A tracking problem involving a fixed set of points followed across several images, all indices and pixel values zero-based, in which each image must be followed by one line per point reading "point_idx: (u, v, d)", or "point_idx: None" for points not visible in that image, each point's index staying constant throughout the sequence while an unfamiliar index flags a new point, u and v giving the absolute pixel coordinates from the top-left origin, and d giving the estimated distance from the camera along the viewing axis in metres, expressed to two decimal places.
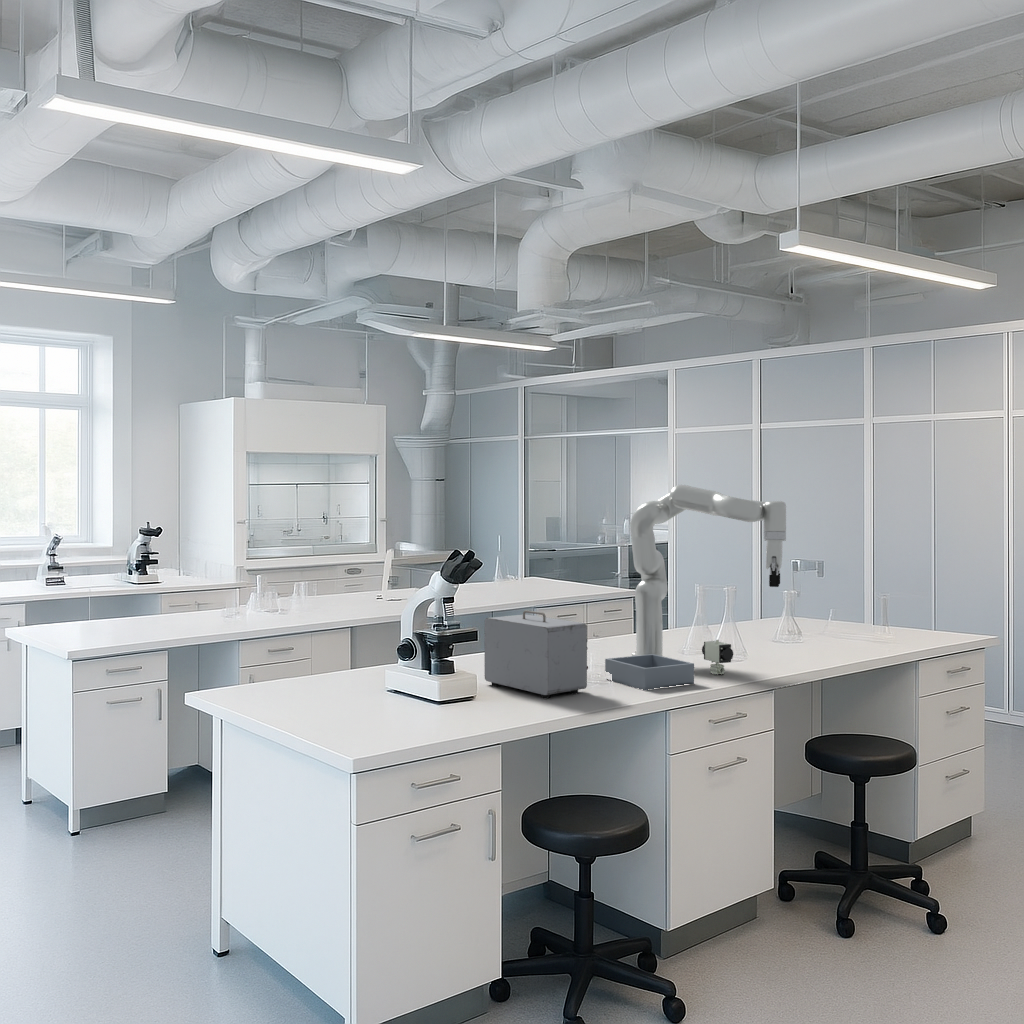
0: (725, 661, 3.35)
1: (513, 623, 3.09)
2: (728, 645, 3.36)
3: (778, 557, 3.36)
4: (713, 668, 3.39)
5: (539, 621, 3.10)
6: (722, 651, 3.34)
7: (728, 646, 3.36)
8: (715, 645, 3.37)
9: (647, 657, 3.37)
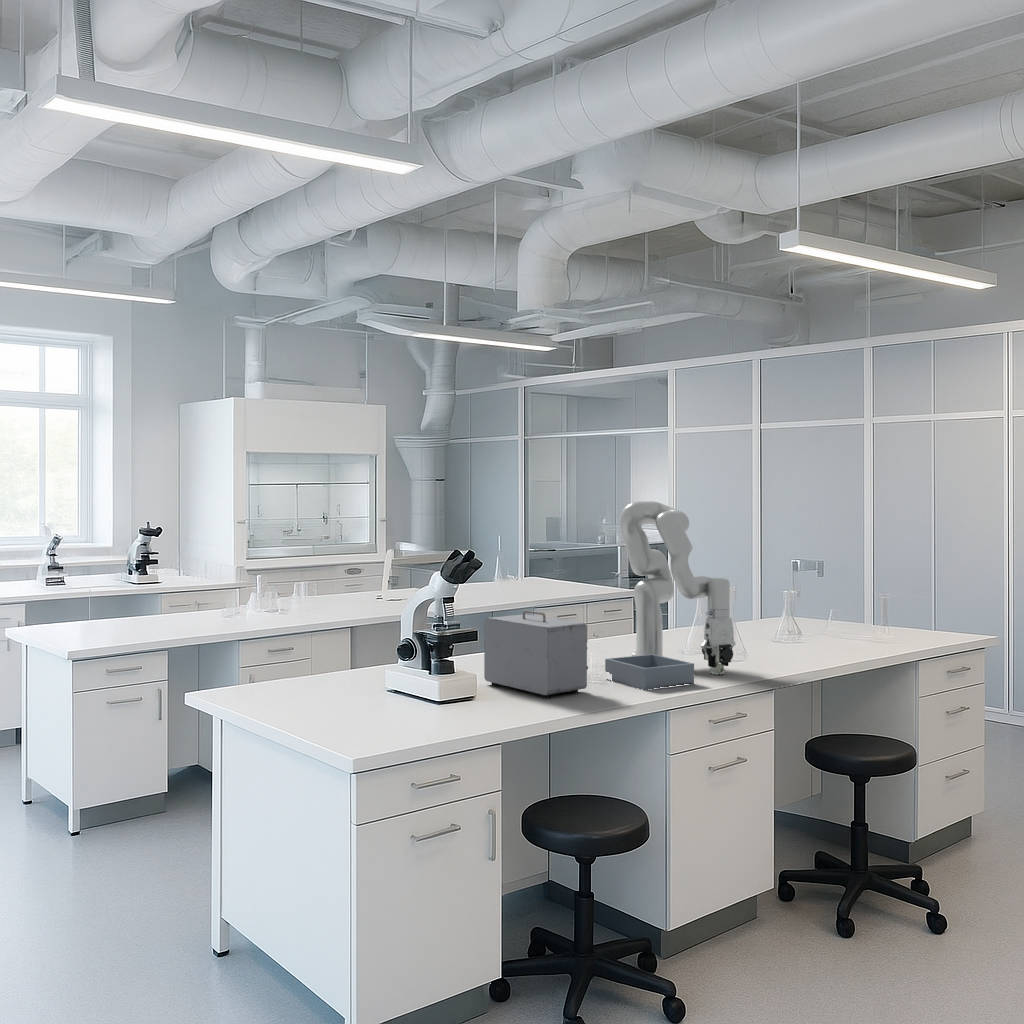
0: (725, 661, 3.35)
1: (513, 623, 3.09)
2: (728, 645, 3.36)
3: None
4: (713, 668, 3.39)
5: (539, 621, 3.10)
6: (722, 651, 3.34)
7: (728, 646, 3.36)
8: None
9: (647, 657, 3.37)
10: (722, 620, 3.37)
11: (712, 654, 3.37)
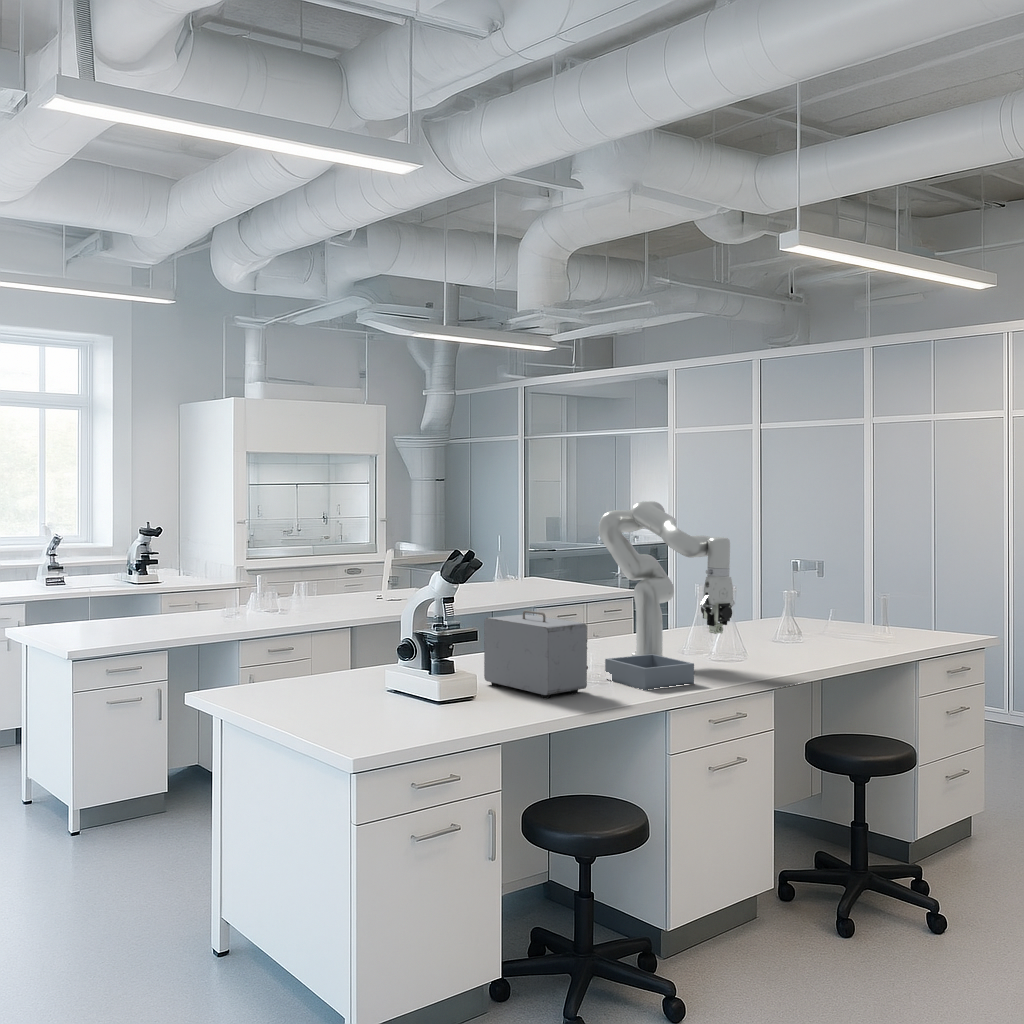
0: (724, 620, 3.35)
1: (513, 623, 3.09)
2: (727, 604, 3.36)
3: None
4: (712, 627, 3.39)
5: (539, 621, 3.10)
6: (721, 610, 3.34)
7: (727, 605, 3.36)
8: None
9: (647, 657, 3.37)
10: (722, 579, 3.37)
11: (711, 613, 3.37)
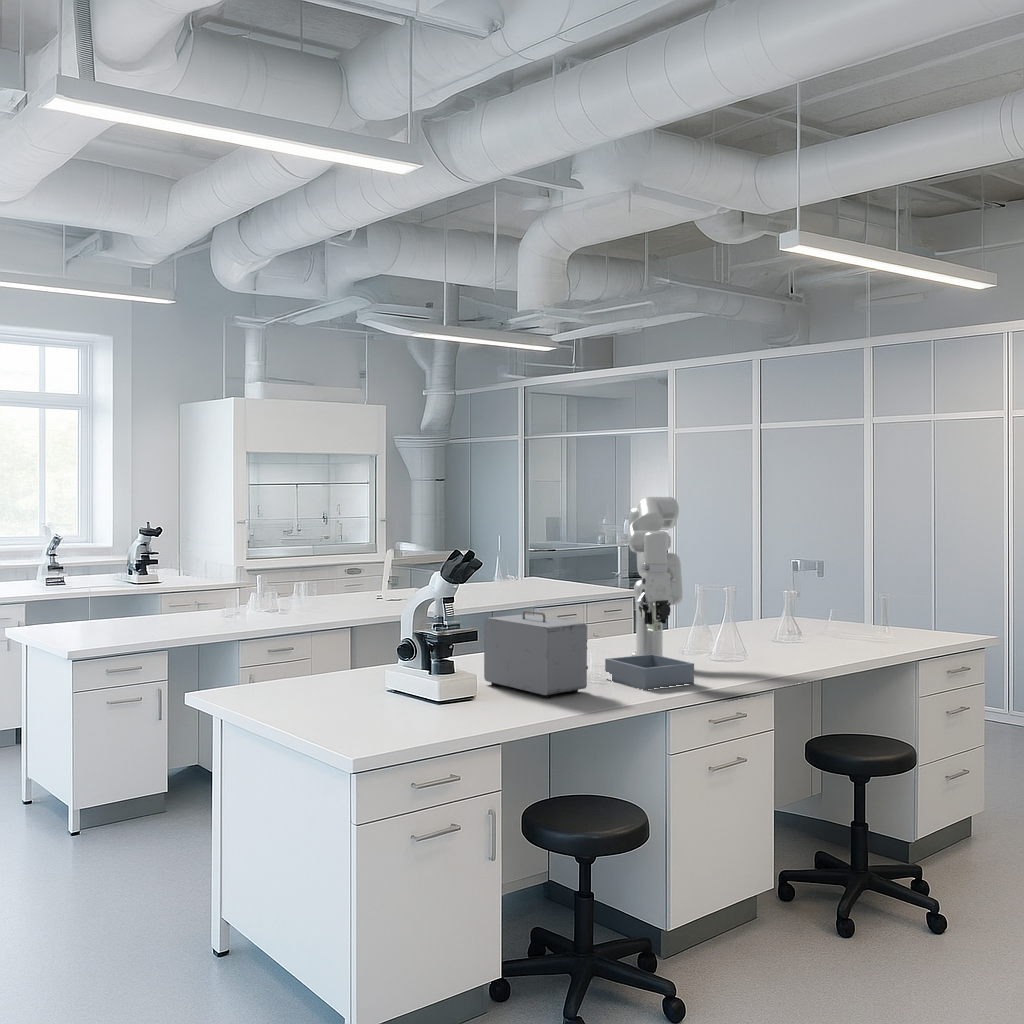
0: (662, 618, 3.21)
1: (513, 623, 3.09)
2: (665, 601, 3.22)
3: None
4: (650, 625, 3.25)
5: (539, 621, 3.10)
6: (659, 607, 3.20)
7: (665, 602, 3.22)
8: None
9: (647, 657, 3.37)
10: (659, 575, 3.23)
11: (648, 610, 3.23)
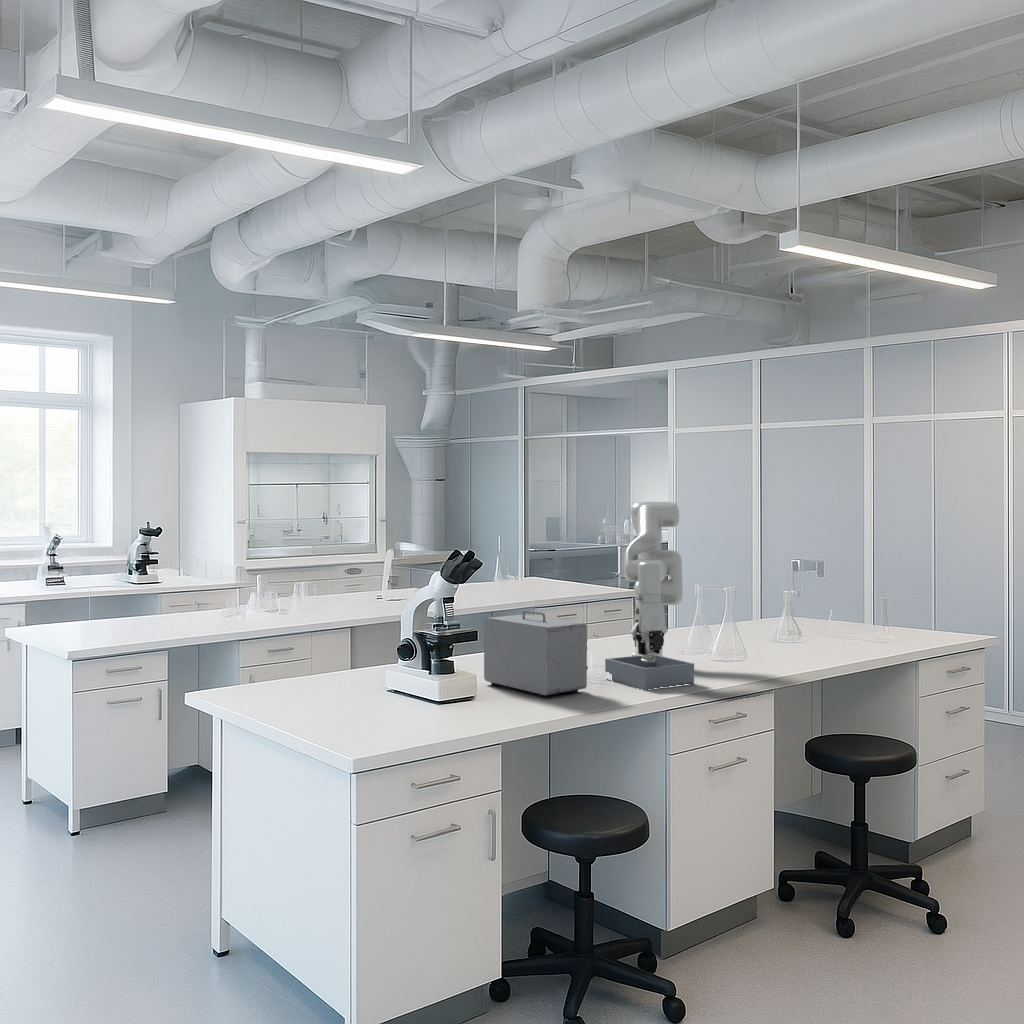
0: (655, 648, 3.20)
1: (513, 623, 3.09)
2: (659, 631, 3.21)
3: None
4: (644, 656, 3.24)
5: (539, 621, 3.10)
6: (652, 637, 3.19)
7: (659, 632, 3.21)
8: None
9: None
10: (652, 605, 3.22)
11: (642, 641, 3.22)
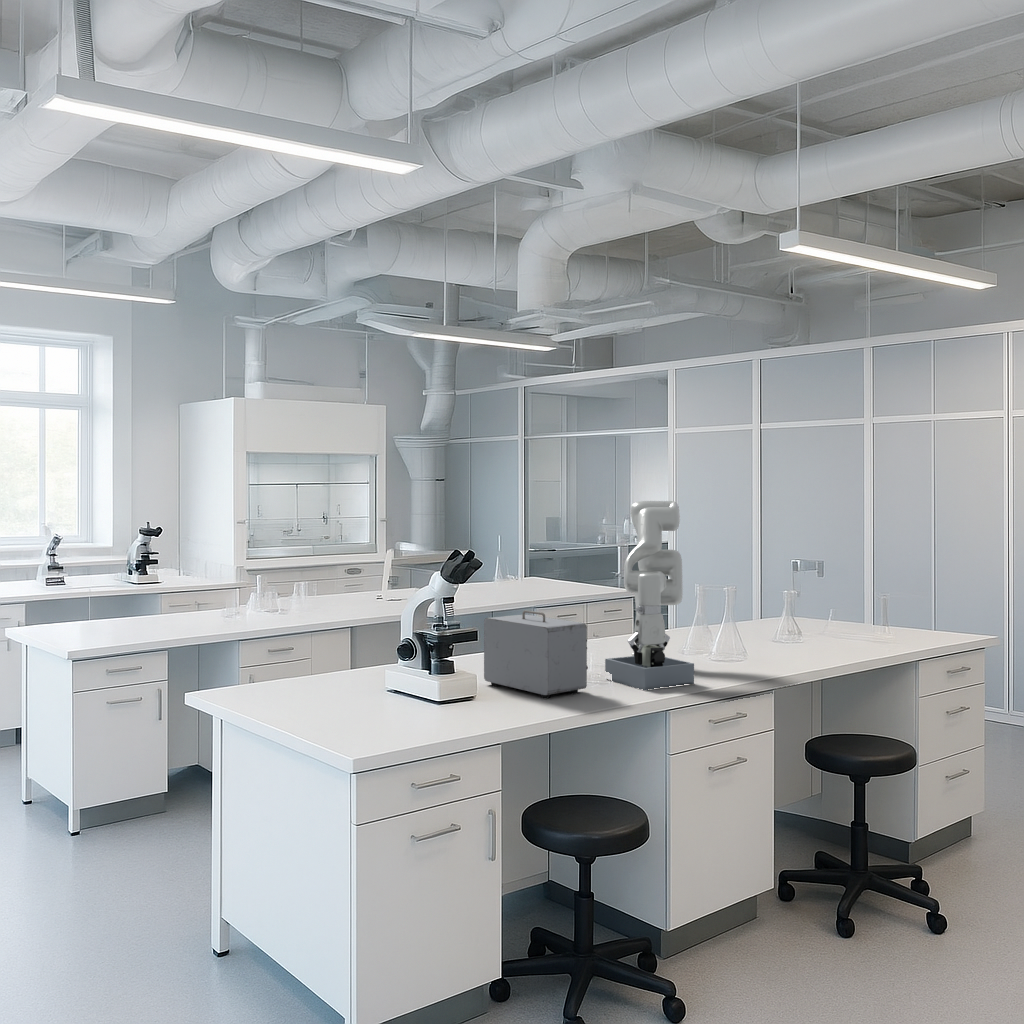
0: (656, 665, 3.21)
1: (513, 623, 3.09)
2: (660, 648, 3.22)
3: None
4: None
5: (539, 621, 3.10)
6: (653, 654, 3.19)
7: (660, 649, 3.22)
8: (647, 648, 3.22)
9: None
10: (652, 617, 3.22)
11: (638, 650, 3.21)
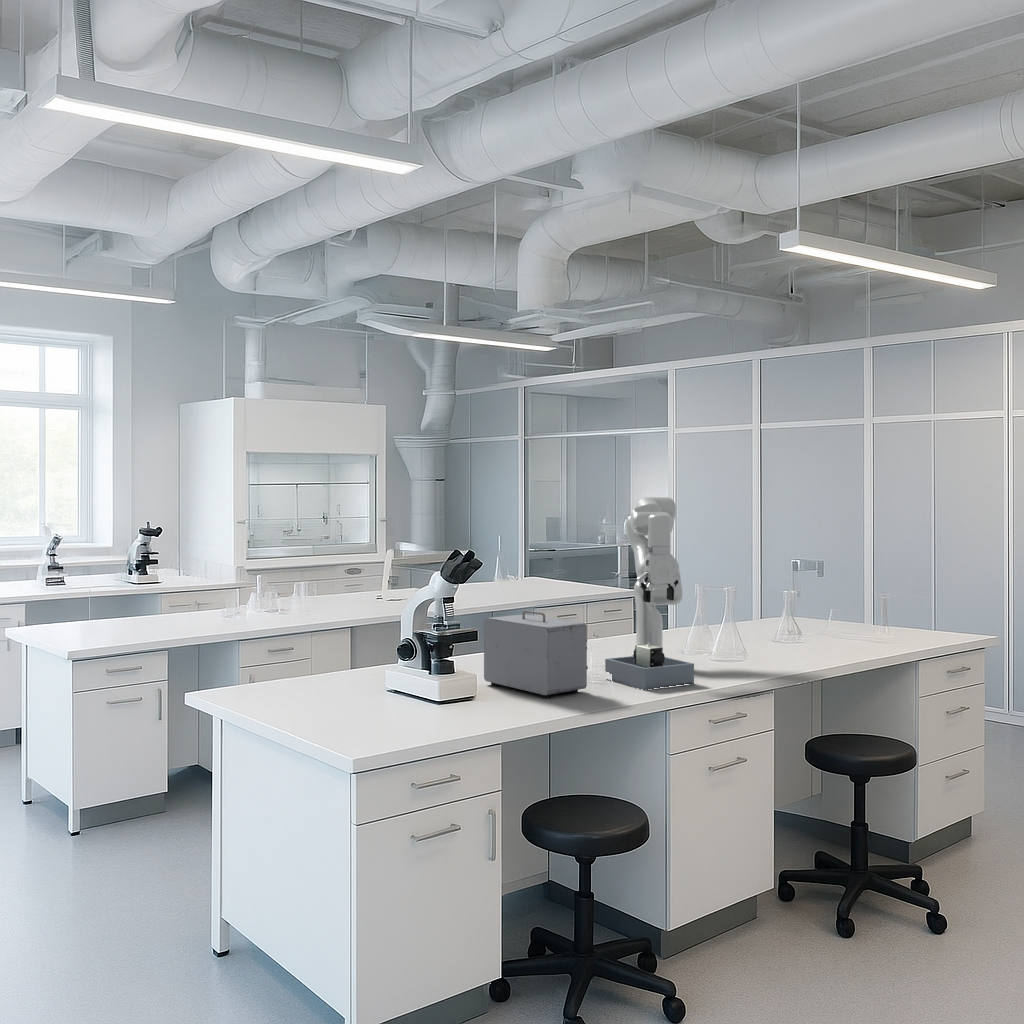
0: (656, 665, 3.21)
1: (513, 623, 3.08)
2: (659, 649, 3.21)
3: None
4: None
5: (539, 621, 3.10)
6: (653, 655, 3.19)
7: (659, 650, 3.21)
8: (646, 649, 3.22)
9: None
10: (662, 557, 3.28)
11: (647, 589, 3.28)
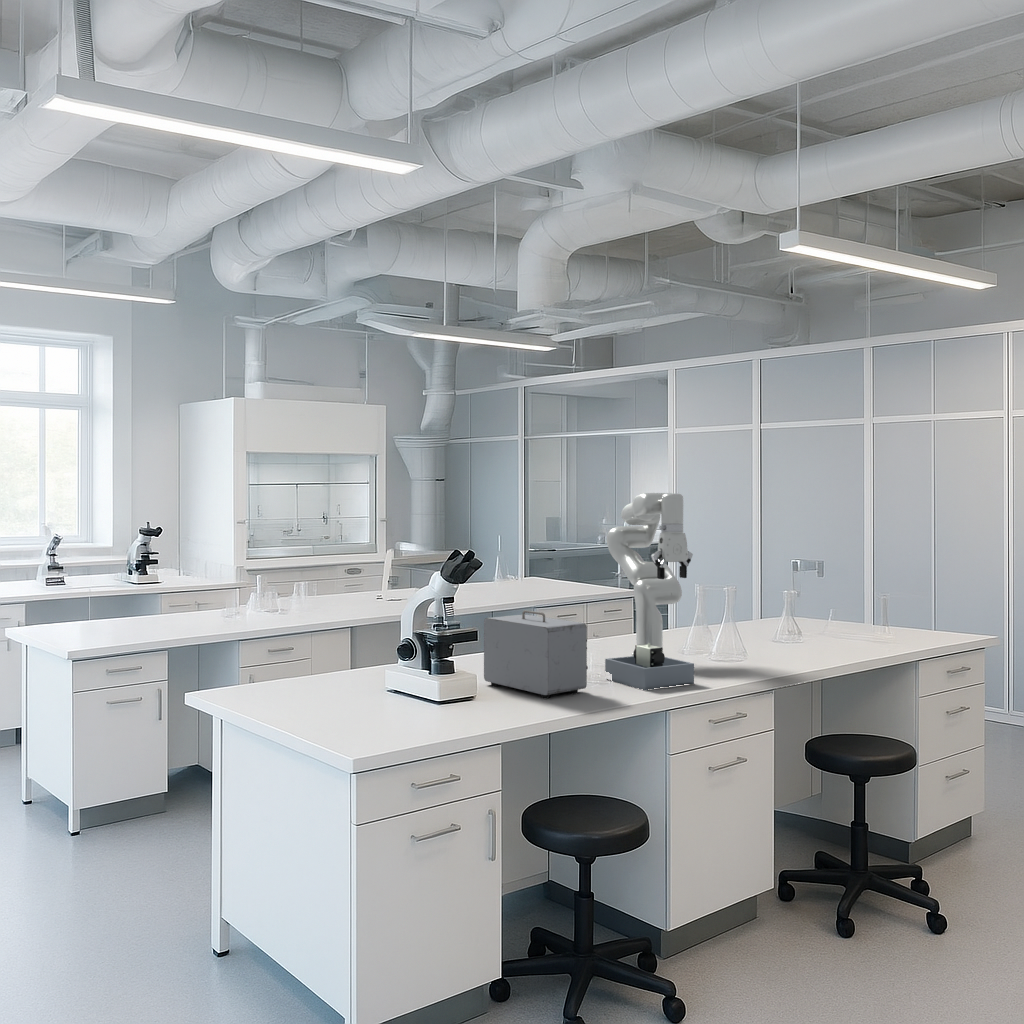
0: (656, 665, 3.21)
1: (513, 623, 3.08)
2: (659, 649, 3.21)
3: None
4: None
5: (539, 621, 3.10)
6: (653, 655, 3.19)
7: (659, 650, 3.21)
8: (646, 649, 3.22)
9: None
10: (675, 534, 3.36)
11: (661, 565, 3.35)
